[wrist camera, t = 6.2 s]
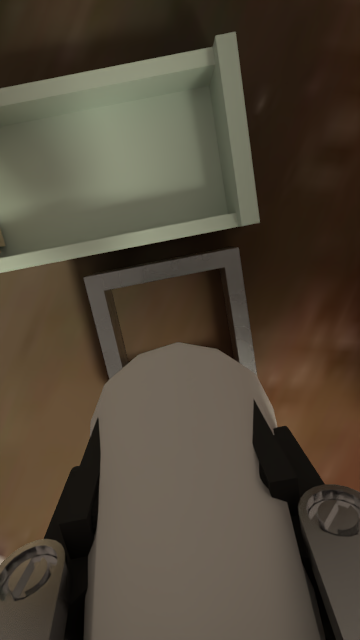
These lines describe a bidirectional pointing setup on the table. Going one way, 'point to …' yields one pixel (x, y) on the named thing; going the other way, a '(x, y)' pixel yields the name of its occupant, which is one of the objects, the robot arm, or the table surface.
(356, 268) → the table surface
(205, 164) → the bay
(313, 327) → the table surface
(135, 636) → the salt shaker
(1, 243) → the crate
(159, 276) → the grey square frame
